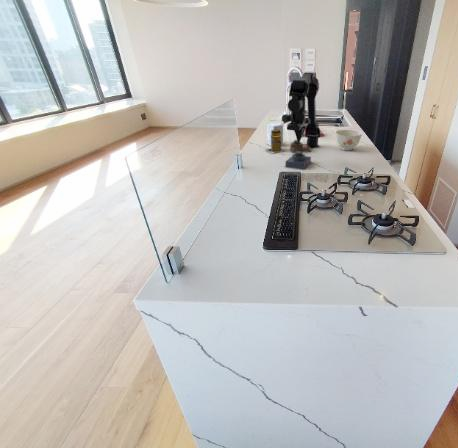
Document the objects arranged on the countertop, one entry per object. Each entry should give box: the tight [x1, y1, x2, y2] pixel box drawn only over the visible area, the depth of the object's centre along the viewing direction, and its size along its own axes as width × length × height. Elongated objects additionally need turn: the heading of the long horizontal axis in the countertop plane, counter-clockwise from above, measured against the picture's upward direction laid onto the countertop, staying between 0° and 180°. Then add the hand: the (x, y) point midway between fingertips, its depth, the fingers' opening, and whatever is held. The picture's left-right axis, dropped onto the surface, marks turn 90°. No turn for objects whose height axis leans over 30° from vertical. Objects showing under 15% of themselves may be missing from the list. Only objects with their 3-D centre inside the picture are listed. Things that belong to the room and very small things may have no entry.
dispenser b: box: [290, 141, 311, 154], centre depth 173 cm, size 10×8×4 cm
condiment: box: [266, 130, 284, 154], centre depth 170 cm, size 7×8×12 cm
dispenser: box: [285, 153, 312, 170], centre depth 151 cm, size 12×10×5 cm
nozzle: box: [294, 151, 303, 157], centre depth 150 cm, size 4×4×2 cm
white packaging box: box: [266, 122, 284, 146], centre depth 181 cm, size 7×7×13 cm
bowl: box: [334, 129, 363, 151], centre depth 176 cm, size 16×16×10 cm
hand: (298, 141), depth 146 cm, fingers closed
